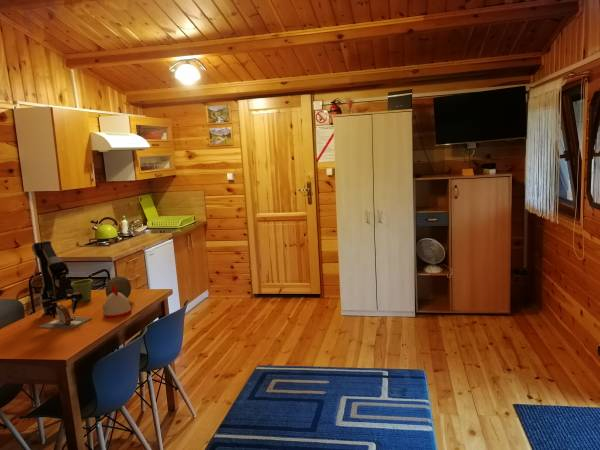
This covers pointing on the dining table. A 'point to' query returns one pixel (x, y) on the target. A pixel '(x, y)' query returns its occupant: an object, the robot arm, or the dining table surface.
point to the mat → (60, 325)
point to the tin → (63, 314)
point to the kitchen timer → (116, 305)
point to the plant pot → (83, 288)
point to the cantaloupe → (119, 286)
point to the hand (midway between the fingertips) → (64, 315)
